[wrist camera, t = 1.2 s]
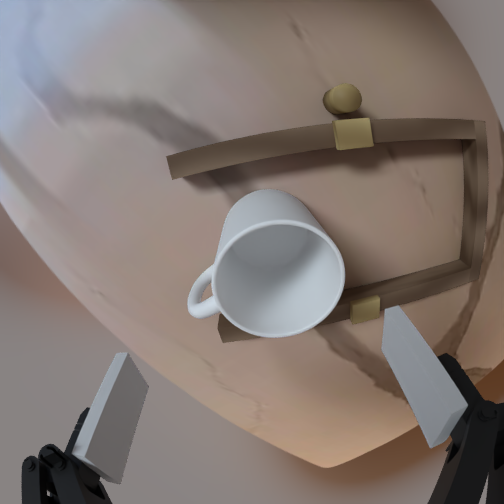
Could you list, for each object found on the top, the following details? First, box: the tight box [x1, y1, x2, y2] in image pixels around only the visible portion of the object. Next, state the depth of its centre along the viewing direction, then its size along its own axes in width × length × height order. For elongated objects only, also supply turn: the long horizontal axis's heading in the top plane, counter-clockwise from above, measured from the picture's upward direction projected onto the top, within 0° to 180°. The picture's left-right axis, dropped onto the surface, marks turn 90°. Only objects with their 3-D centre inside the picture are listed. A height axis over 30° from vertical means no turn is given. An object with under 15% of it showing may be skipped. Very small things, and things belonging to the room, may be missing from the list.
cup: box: [187, 189, 345, 338], centre depth 22 cm, size 8×12×10 cm
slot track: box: [166, 83, 488, 343], centre depth 24 cm, size 22×32×3 cm
